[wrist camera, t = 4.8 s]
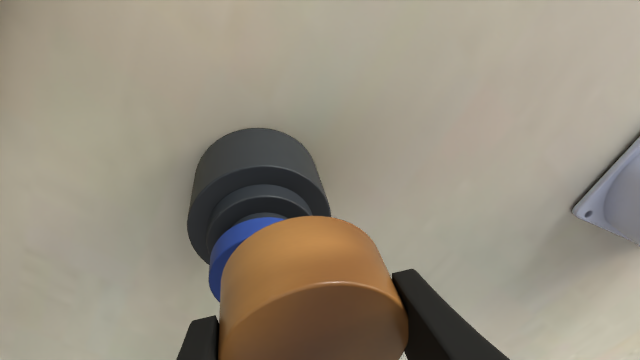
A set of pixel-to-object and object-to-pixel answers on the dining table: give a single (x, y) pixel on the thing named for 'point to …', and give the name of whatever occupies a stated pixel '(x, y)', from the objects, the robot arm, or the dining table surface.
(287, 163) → the dark grey cylinder
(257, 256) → the orange brown short cylinder
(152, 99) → the dining table surface
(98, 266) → the dining table surface
